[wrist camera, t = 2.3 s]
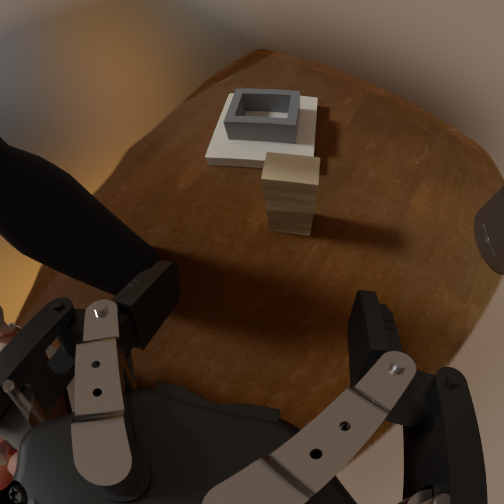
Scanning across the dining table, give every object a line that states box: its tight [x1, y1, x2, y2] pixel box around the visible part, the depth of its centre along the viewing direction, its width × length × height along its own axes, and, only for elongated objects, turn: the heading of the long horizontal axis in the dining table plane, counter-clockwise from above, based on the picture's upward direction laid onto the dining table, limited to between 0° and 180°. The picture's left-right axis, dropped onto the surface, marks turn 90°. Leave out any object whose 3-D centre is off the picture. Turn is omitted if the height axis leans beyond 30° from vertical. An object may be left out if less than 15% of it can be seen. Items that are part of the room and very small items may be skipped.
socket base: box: [205, 89, 317, 168], centre depth 30 cm, size 12×12×4 cm
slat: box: [261, 152, 320, 236], centre depth 23 cm, size 2×4×9 cm, turn 79°
